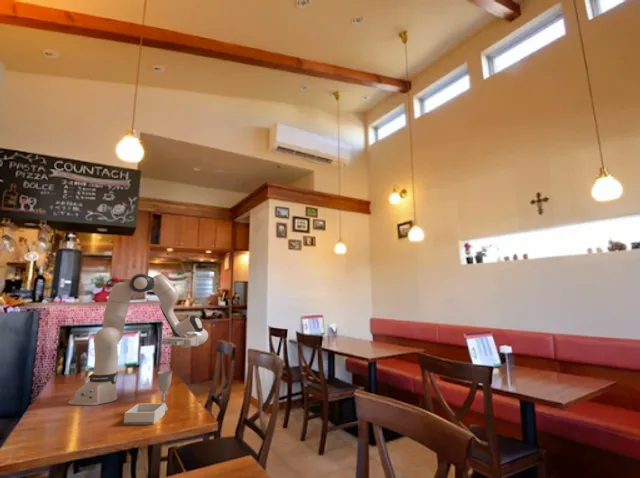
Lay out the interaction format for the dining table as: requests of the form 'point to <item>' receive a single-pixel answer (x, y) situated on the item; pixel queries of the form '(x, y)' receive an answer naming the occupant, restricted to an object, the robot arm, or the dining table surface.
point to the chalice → (164, 383)
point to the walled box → (144, 414)
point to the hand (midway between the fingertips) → (169, 343)
